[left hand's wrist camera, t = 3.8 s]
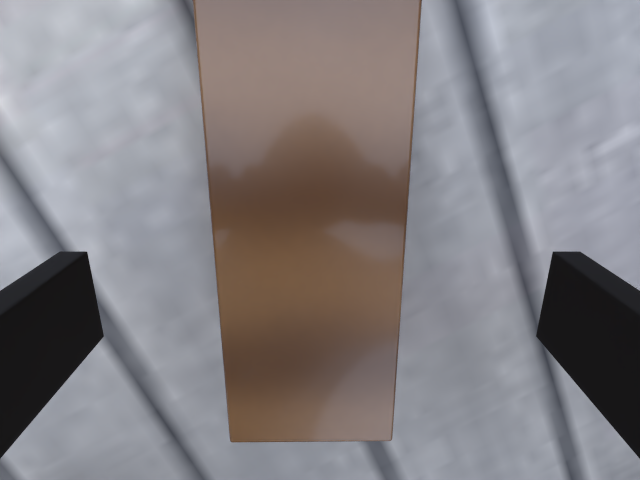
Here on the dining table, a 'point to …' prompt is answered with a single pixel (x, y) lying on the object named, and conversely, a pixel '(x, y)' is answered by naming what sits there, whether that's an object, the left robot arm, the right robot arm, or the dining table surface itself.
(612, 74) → the dining table surface
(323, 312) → the bar
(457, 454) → the dining table surface
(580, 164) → the dining table surface
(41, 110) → the dining table surface
